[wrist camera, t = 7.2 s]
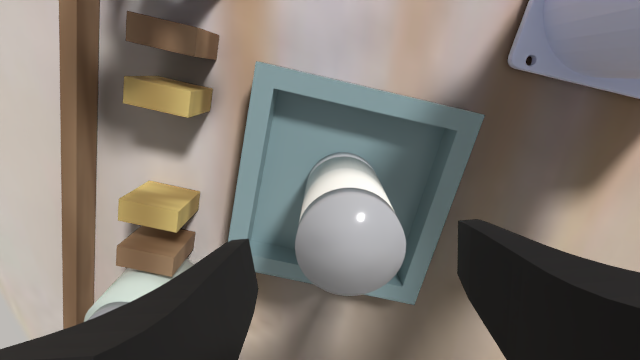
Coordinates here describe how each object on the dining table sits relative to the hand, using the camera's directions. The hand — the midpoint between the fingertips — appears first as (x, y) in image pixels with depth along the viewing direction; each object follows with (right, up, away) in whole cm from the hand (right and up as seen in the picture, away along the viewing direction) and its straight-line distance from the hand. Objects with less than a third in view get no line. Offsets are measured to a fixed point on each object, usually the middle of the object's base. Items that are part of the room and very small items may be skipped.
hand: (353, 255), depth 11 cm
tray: (0, +2, +8) cm, 8 cm away
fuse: (0, +2, +7) cm, 8 cm away
